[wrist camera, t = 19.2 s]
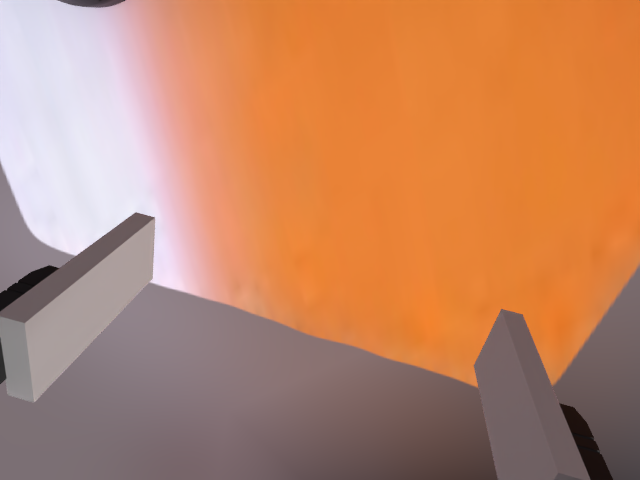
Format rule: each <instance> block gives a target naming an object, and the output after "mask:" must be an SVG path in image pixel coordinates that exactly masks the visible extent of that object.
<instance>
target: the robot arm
mask: <svg viewBox="0 0 640 480" xmlns="http://www.w3.org/2000/svg"><path fill="white" fill-rule="evenodd" d="M58 1H61V2H64V3H67V4H70V5H75V6H82V7H109V6H113V5H116V4H119V3H121V2H123V1H125V0H58ZM154 233H155V217H151V216H147V215H144V214H140V213H134V214H133V215H132V216H130V217H129V218H127V219H126V220H125V221H123V222H122V223H121V224H119V225H118V226H117V227H115V228H114V229H112V230H111V231H110V232H108V233H107V234H106V235H104V236H103V237H101V238H100V239H99V240H97V241H96V242H95V243H93V244H92V245H91V246H89V247H88V248H86V249H85V250H84V251H82V252H81V253H80V254H78V255H77V256H75V257H74V258H73V259H71V260H70V261H69V262H67V263H66V264H65V265H63V266H62V267H60V268H57V267H53V266H47V267H44V268H41V269H38V270H35V271H33V272H31V273H29V274H28V275H26V276H25V277H23V278H22V279H20V280H19V281H18V283H15V284H13V285H12V286H10V287H9V288H8V289H7V291H6V290H4V291H3V292H1V293H0V384H1V383H2V382H3V381H4V380H6V387H7V393H8V395H10V396H13V397H17V398H21V399H23V400H27V401H30V402H35V401H36V400H37V399H38V398H39V397H40V396H41V395H42V394H43V393H44V392H45V391H46V390H47V389H48V387H49V386H50V385H51V384H52V383H53V382H54V381H55V380H56V379H57V378H58V377H59V376H60V375H61V374H62V373H63V372H64V371H65V370H66V369H67V368H68V367H69V366H70V364H71V363H72V362H73V361H74V360H75V359H76V358H77V357H78V356H79V355H80V354H81V353H82V352H83V351H84V350H85V349H86V348H87V347H88V346H89V345H90V344H91V342H92V341H93V340H94V339H95V338H96V337H97V336H98V335H99V334H100V333H101V332H102V331H103V330H104V329H105V328H106V327H107V326H108V325H109V324H110V322H112V321H113V319H114V318H115V317H116V316H117V315H118V314H119V313H120V312H121V311H122V310H123V309H124V308H125V307H126V306H127V305H128V304H129V303H130V302H131V301H132V299H133V298H134V297H135V296H136V295H137V294H138V293H139V292H140V291H141V290H142V289H143V288H144V287H145V286H146V285H147V284H148V283H149V282H150V281H151V280H152V279H153V257H154ZM474 368H475V373H476V378H477V383H478V387H479V392H480V397H481V401H482V406H483V411H484V415H485V420H486V425H487V430H488V434H489V439H490V444H491V449H492V453H493V458H494V463H495V467H496V472H497V477H498V480H613V478H612V476H611V474H610V472H609V470H608V468H607V465H606V463H605V461H604V459H603V457H602V455H601V454H600V451H599V448H598V446H597V444H596V442H595V441H594V437H593V435H592V433H591V431H590V429H589V426H588V424H587V422H586V421H585V420H584V419H583V418H582V416H581V415H580V414H579V413H578V412H577V411H576V409H575V408H573V407H570V406H567V405H563V404H560V403H559V402H558V400H557V397H556V395H555V392H554V390H553V387H552V385H551V383H550V380H549V378H548V375H547V373H546V370H545V368H544V366H543V363H542V361H541V358H540V356H539V353H538V351H537V349H536V346H535V344H534V341H533V339H532V336H531V334H530V332H529V329H528V327H527V324H526V322H525V320H524V317H523V315H522V314H518V313H515V312H511V311H507V310H503V309H501V311H500V313H499V315H498V317H497V319H496V321H495V323H494V325H493V327H492V330H491V332H490V334H489V336H488V338H487V340H486V342H485V344H484V346H483V348H482V350H481V352H480V354H479V356H478V358H477V360H476V362H475V365H474Z"/></svg>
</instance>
